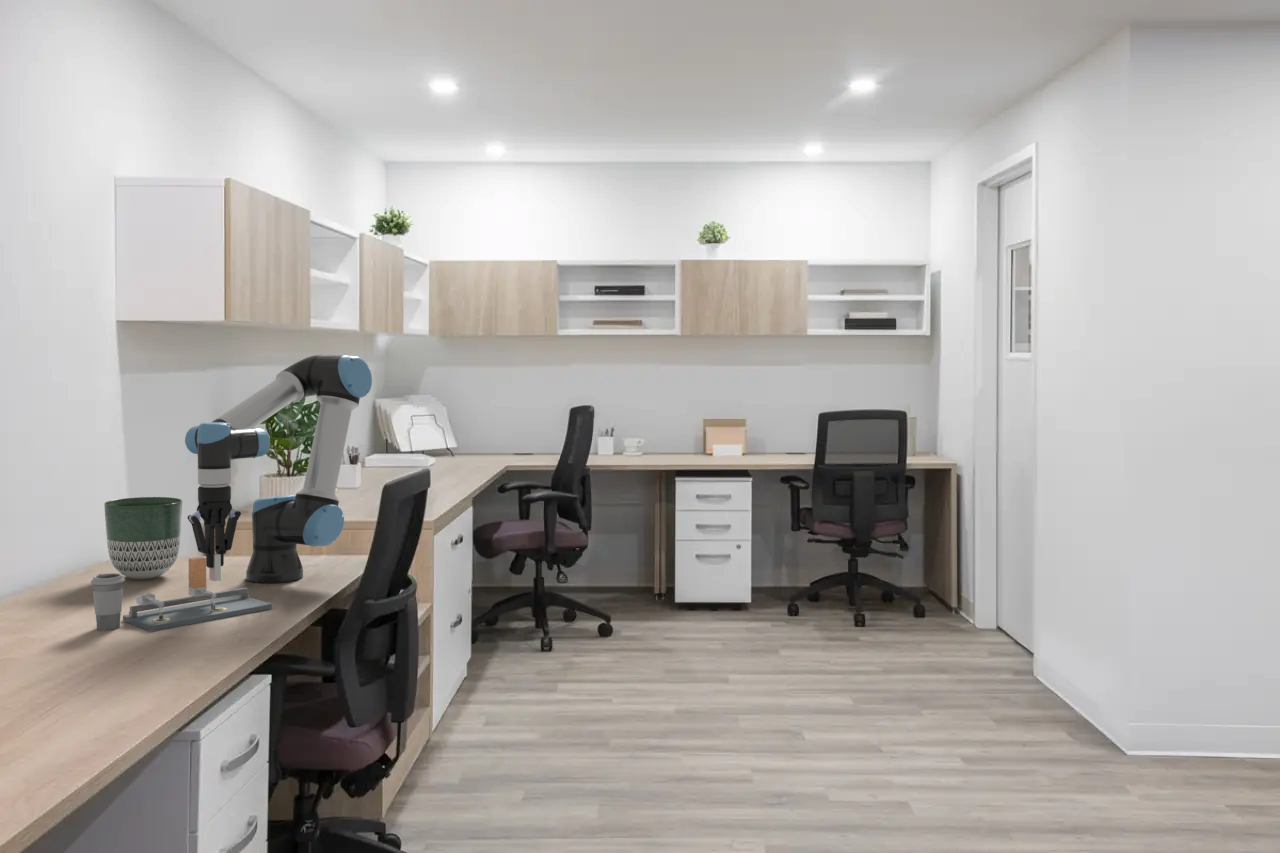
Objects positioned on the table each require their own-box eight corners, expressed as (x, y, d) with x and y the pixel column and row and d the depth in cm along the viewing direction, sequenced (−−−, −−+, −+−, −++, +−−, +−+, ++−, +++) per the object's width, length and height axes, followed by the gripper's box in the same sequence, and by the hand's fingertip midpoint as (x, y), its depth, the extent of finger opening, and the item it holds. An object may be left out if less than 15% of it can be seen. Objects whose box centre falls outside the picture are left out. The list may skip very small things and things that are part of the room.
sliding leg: (200, 602, 257) (200, 556, 256) (220, 608, 251) (219, 562, 250) (188, 604, 254) (188, 558, 254) (208, 610, 248) (207, 563, 248)
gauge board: (242, 599, 267) (242, 594, 267) (272, 608, 258) (272, 603, 258) (122, 620, 244) (122, 615, 244) (151, 631, 235) (150, 625, 235)
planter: (175, 584, 283) (175, 505, 282) (97, 586, 279) (96, 507, 277) (188, 569, 302) (187, 496, 301) (115, 571, 297) (114, 497, 296)
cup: (113, 622, 242) (112, 571, 241) (132, 626, 239) (131, 574, 238) (84, 629, 236) (83, 576, 235) (103, 633, 233) (102, 580, 232)
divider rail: (243, 596, 266) (243, 577, 265) (264, 602, 260) (263, 583, 259) (127, 616, 243) (127, 596, 243) (146, 623, 237) (146, 603, 237)
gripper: (231, 481, 264) (232, 573, 265) (181, 486, 254) (182, 581, 255) (247, 484, 259) (247, 578, 260) (196, 488, 249) (197, 586, 250)
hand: (215, 579), depth 258 cm, fingers closed
